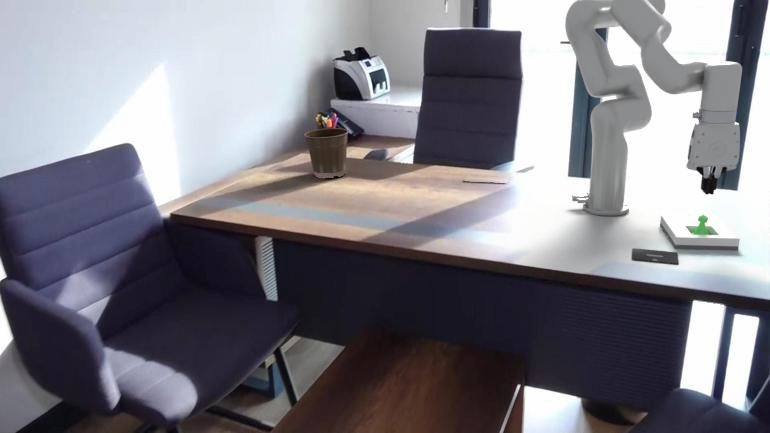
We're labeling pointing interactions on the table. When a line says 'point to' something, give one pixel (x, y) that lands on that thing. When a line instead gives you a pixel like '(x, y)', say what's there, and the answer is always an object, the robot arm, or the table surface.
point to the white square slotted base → (682, 238)
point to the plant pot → (327, 149)
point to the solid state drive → (655, 256)
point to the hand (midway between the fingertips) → (707, 192)
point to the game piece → (701, 226)
